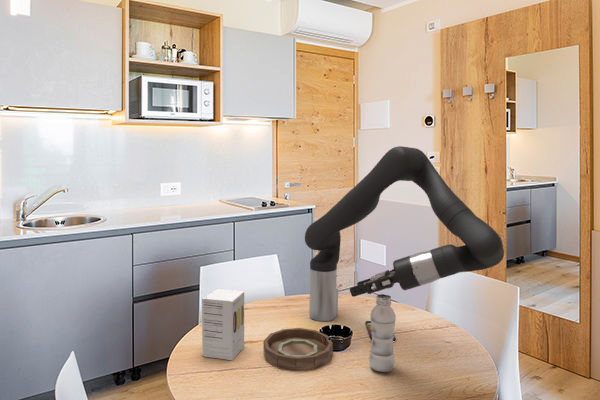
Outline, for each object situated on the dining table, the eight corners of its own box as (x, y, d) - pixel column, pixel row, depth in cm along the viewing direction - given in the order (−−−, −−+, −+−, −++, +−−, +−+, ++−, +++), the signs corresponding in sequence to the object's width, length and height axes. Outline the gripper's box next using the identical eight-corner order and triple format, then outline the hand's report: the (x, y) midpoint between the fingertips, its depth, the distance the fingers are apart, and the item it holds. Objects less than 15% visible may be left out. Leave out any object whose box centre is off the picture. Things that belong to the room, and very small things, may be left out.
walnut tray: (300, 333, 135) (300, 323, 135) (345, 355, 122) (345, 343, 121) (250, 352, 123) (250, 340, 122) (294, 378, 109) (295, 365, 108)
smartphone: (387, 321, 145) (397, 340, 130) (387, 323, 145) (397, 343, 130) (364, 320, 145) (371, 340, 130) (364, 323, 145) (371, 343, 130)
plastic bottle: (394, 376, 110) (397, 301, 108) (368, 373, 112) (370, 299, 109) (394, 364, 117) (397, 293, 114) (369, 362, 118) (371, 291, 116)
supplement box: (232, 361, 117) (232, 301, 116) (201, 357, 120) (200, 298, 118) (245, 346, 127) (245, 290, 125) (216, 342, 129) (215, 287, 127)
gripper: (413, 252, 111) (355, 271, 115) (408, 258, 97) (342, 279, 102) (424, 280, 110) (365, 298, 114) (420, 290, 96) (353, 310, 101)
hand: (354, 289), depth 108 cm, fingers open, 8 cm apart
